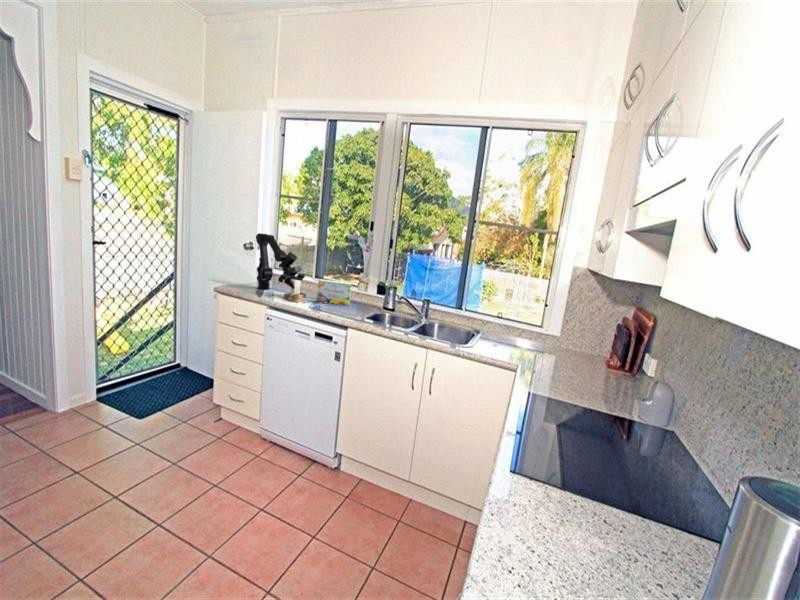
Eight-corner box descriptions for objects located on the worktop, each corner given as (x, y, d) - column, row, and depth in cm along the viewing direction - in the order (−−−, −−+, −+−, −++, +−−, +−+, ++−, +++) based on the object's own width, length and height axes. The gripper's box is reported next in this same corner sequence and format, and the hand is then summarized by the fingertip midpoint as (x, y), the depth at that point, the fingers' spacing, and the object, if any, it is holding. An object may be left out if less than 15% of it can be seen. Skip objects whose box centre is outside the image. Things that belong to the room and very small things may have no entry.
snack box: (316, 302, 249) (318, 279, 246) (318, 300, 254) (320, 278, 252) (348, 306, 250) (351, 283, 247) (349, 304, 255) (351, 282, 253)
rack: (283, 298, 249) (283, 293, 248) (299, 296, 260) (300, 292, 260) (289, 300, 245) (290, 295, 245) (306, 298, 257) (306, 294, 257)
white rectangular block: (290, 298, 252) (291, 280, 249) (296, 297, 256) (297, 280, 254) (293, 299, 250) (295, 281, 248) (299, 298, 254) (300, 280, 252)
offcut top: (289, 297, 243) (290, 293, 242) (294, 297, 247) (294, 293, 246) (298, 299, 240) (298, 295, 240) (302, 298, 244) (303, 295, 244)
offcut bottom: (288, 301, 244) (288, 297, 244) (294, 300, 248) (295, 296, 248) (296, 303, 240) (297, 299, 239) (303, 303, 244) (303, 299, 244)
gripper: (282, 261, 243) (292, 281, 239) (304, 262, 259) (314, 280, 255) (273, 272, 248) (283, 291, 245) (295, 271, 264) (305, 290, 260)
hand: (297, 288), depth 251 cm, fingers closed on white rectangular block, 5 cm apart
